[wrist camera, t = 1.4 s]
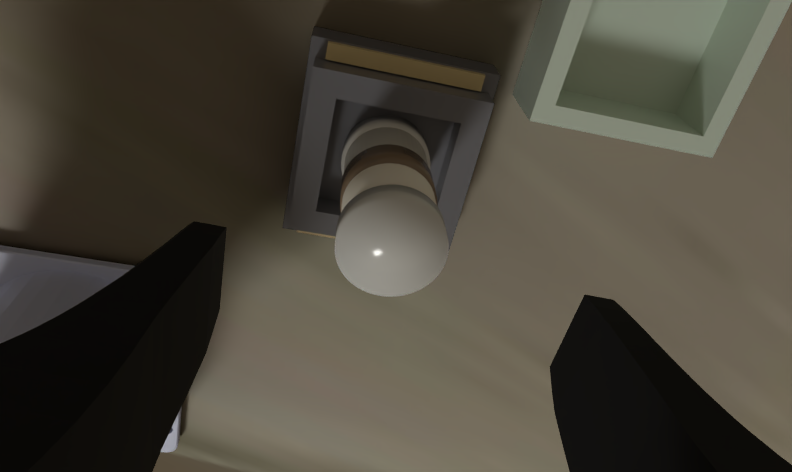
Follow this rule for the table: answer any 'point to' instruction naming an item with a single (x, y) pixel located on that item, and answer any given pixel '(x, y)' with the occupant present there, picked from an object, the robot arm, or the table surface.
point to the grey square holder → (385, 95)
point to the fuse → (389, 210)
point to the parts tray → (646, 67)
